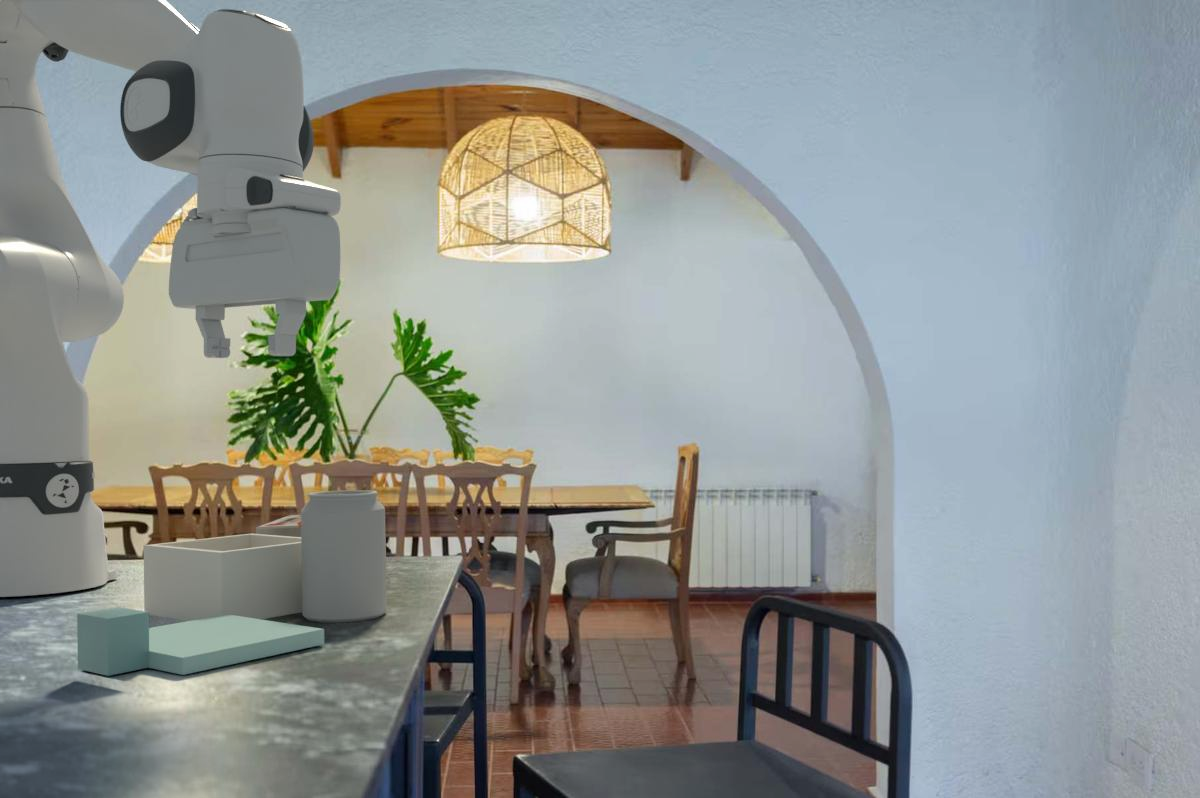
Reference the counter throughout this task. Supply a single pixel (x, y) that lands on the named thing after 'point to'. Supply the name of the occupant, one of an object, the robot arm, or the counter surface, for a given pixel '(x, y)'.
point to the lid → (181, 641)
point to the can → (343, 556)
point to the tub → (224, 577)
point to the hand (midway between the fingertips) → (248, 357)
